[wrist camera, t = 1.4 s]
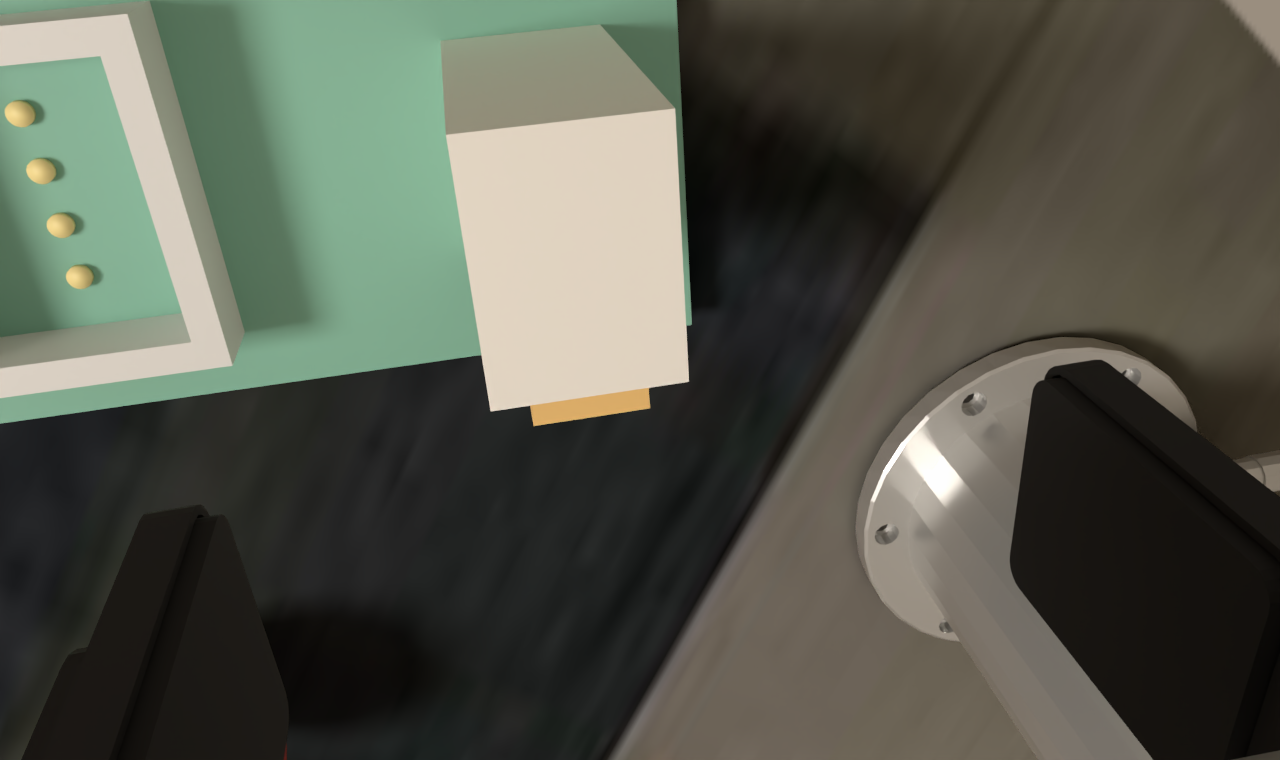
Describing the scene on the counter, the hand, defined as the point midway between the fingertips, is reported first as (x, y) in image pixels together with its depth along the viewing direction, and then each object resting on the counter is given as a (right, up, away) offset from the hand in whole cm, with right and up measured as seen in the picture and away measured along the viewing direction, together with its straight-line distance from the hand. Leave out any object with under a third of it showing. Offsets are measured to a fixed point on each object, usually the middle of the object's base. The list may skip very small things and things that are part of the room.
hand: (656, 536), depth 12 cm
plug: (-3, +8, +15) cm, 17 cm away
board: (-9, +8, +15) cm, 19 cm away
